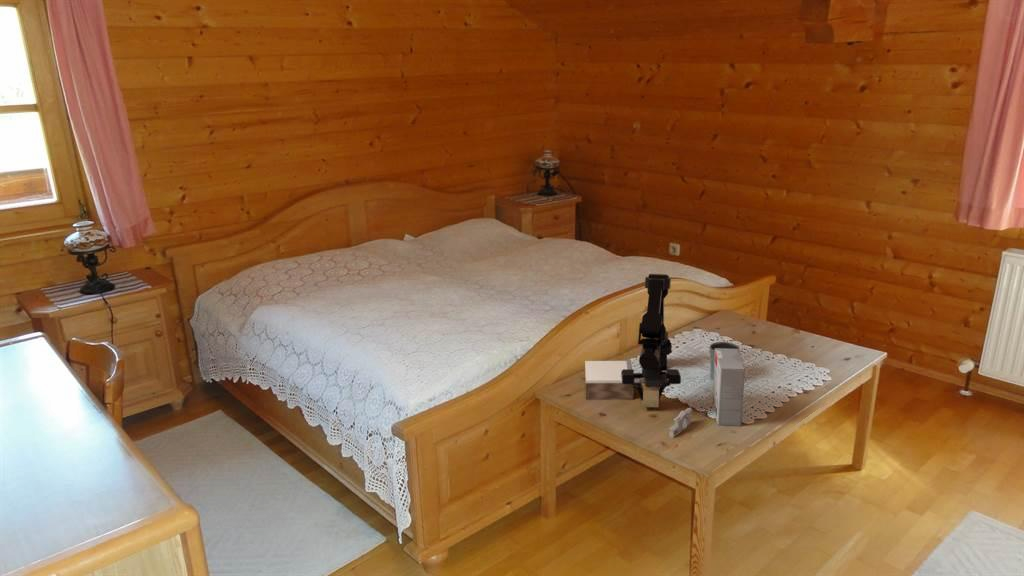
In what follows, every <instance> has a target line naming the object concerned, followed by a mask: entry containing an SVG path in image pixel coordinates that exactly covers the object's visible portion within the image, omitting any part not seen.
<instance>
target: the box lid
mask: <svg viewBox="0 0 1024 576" xmlns="http://www.w3.org/2000/svg"><path fill="white" fill-rule="evenodd" d="M584 366H585V369H584V373H585V374H586V383H622V378H621V371H622V370H623V369H633V365H632V360H631V359H629V358H626V360H585V361H584ZM586 383H585V384H586Z"/></svg>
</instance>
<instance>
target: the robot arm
mask: <svg viewBox="0 0 1024 576" xmlns="http://www.w3.org/2000/svg"><path fill="white" fill-rule="evenodd" d="M671 279H672V278H671V277H669V275H668V274H663V273H661V274H660V273H649V274H648V276H645V279H644V282H645V283H644V288H645V289H646V290H647V294H648V300H647V307H646V308H647V309H646V312H645V313H644V314H643V315H642V319H641V322H639V327H638V339H637V344H638V345H641V350H640V355H639V357H638V358H639V359H638V364H639V365H640V367H641V372H635V371H634V368H632V369H623V370H622V371H621V378H622V383H623V384H632V385H633V387H636V389H637V391H638V394H639V397H640V400H641V401H642V400H643V395H642V382H641V380H644V384H645V386H646V387H658V389H659V401H660V400H661V396H662V394H663V393H664V390H665V389H666V388H667V387H670V386H671V385H680V384H681V383H682V378H681V373H680V370H679V369H677V368H675V369H674V368H672V369H669V368H668V356H670V354H672V351H673V350H672V349H673V348H672V347H673V346H672V345H673V344H672V342H671V339H670V338H669V332H668V331H667V328H666V326H665V298H666V297H667V296H668V294H669V290H670V289H671V286H672V285H671V283H672V280H671ZM642 337H643V338H642Z"/></svg>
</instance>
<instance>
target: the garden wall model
mask: <svg viewBox="0 0 1024 576" xmlns="http://www.w3.org/2000/svg"><path fill="white" fill-rule="evenodd" d="M692 411H693V409H692V407H687V408H686V409H685V410H681V411H680V413H678V414H677V416H676V417H675V418H673V421H674V424H673V425H672V426H671V427H669V428H668V430H669V437H670V438H672V437H673V438H675V437H676V436H677V435H678V434H680V433H681V432H683V431H684V430H686V428H687V427H688V426H689V425H691V424H692ZM679 432H680V433H679ZM675 435H676V436H675Z"/></svg>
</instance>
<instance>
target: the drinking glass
mask: <svg viewBox="0 0 1024 576" xmlns="http://www.w3.org/2000/svg"><path fill="white" fill-rule="evenodd" d="M715 348H726V349H738V350H739V351H740V347H739V345H737V344H735V343H731V342H728V341H726V342H725V341H717V342H714V343H711V344H710V345H709V354H710V355H709V359H710V364H709V365H710V368H709V369H710V370H709V371H710V372H709V373H710V379H711V380H712V381H714V360H715Z"/></svg>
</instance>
